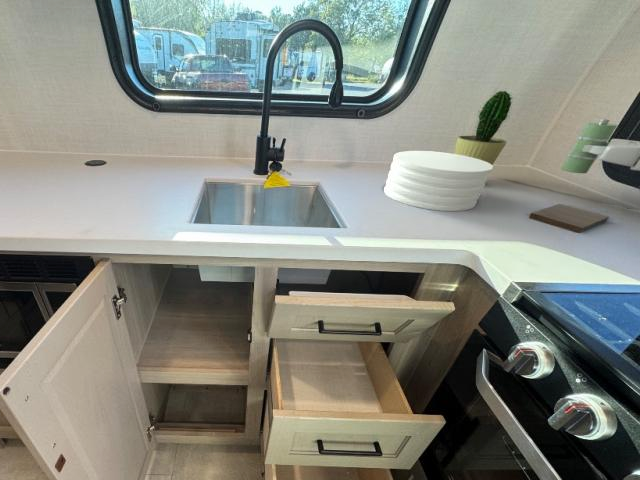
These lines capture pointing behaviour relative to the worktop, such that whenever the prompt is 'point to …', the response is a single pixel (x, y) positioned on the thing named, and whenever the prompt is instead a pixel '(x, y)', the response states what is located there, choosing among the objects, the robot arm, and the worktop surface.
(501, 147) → the potted cactus
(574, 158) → the green ridged cylinder
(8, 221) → the worktop surface
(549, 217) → the walnut board
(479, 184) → the plate stack
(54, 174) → the worktop surface
